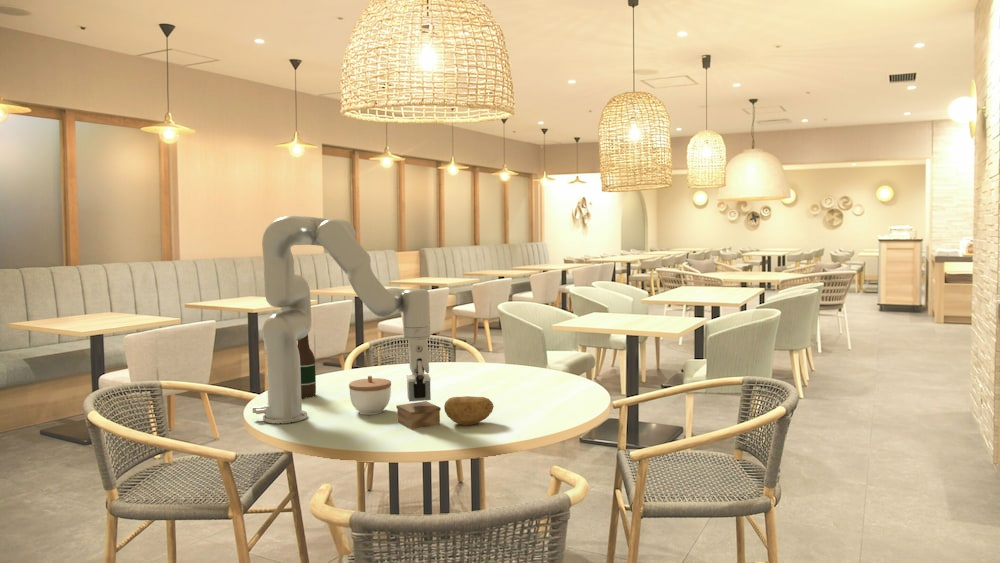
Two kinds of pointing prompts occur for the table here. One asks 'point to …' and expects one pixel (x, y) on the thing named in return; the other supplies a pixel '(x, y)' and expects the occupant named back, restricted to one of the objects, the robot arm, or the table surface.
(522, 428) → the table surface
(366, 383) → the lidded bowl
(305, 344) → the beer bottle
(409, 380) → the beige cube
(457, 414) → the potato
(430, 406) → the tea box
